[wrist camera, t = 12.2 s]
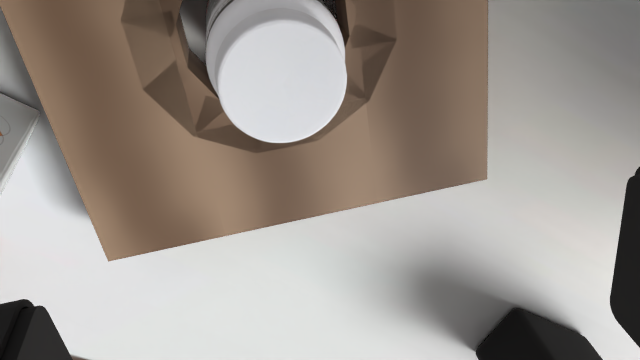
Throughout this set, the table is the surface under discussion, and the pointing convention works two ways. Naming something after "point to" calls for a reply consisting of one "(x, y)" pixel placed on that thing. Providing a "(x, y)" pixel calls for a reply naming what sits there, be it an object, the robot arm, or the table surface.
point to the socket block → (233, 144)
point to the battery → (534, 341)
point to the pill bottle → (276, 65)
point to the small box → (13, 134)
